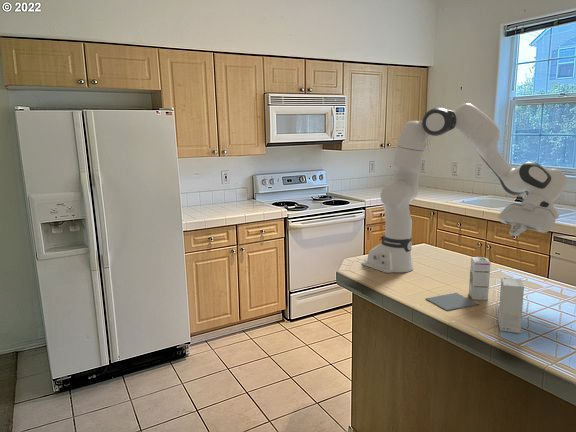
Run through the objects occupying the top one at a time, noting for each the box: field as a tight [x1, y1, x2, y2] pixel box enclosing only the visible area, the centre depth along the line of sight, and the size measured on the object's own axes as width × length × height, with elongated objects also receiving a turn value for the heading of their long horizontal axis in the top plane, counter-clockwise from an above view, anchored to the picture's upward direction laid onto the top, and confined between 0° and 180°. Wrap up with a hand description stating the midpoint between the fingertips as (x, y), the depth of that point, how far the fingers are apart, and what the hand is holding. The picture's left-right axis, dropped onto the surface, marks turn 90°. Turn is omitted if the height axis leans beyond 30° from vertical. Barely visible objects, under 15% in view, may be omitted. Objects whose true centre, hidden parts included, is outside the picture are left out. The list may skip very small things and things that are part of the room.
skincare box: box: [497, 277, 525, 334], centre depth 134 cm, size 8×6×15 cm
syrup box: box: [468, 256, 491, 301], centre depth 158 cm, size 6×6×14 cm
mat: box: [425, 292, 480, 312], centre depth 155 cm, size 11×14×1 cm
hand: (512, 234), depth 161 cm, fingers closed
